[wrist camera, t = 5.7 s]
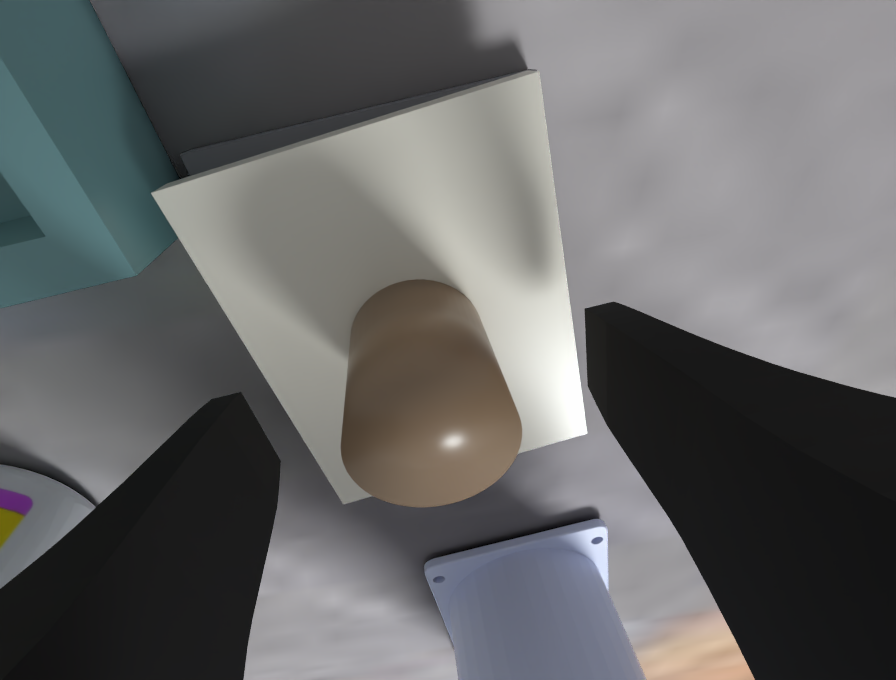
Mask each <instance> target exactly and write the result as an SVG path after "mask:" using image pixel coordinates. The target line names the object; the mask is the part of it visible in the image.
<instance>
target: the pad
mask: <svg viewBox="0 0 896 680" xmlns="http://www.w3.org/2000/svg"><path fill="white" fill-rule="evenodd" d="M528 70H530V71H537V70H533V69H528ZM524 71H526V70H524ZM520 72H523V71H519V72H515V73H511V74H507V75H503V76H498V77H494V78H490V79H486V80H482V81H477V82H473V83H469V84H465V85H461V86H456V87H452V88H448V89H444V90H440V91H435V92H431V93H427V94H423V95H419V96H414V97H410V98H406V99H402V100H398V101H393V102H389V103H385V104H381V105H377V106H372V107H368V108H364V109H360V110H356V111H351V112H347V113H343V114H339V115H335V116H330V117H326V118H322V119H318V120H314V121H309V122H305V123H301V124H297V125H293V126H288V127H284V128H280V129H276V130H272V131H267V132H263V133H259V134H255V135H250V136H246V137H242V138H238V139H234V140H229V141H225V142H221V143H217V144H213V145H208V146H204V147H200V148H196V149H192V150H188V151H186V152H184V153H182V154H180V157H181V159H182V161H183V163H184V165H185V167H186V169H187V171H188V173H189V175H190V176H192V175H195V174H198V173H201V172H205V171H208V170H211V169H214V168H217V167H221V166H224V165H227V164H230V163H233V162H236V161H240V160H243V159H246V158H249V157H252V156H256V155H259V154H262V153H265V152H268V151H272V150H275V149H278V148H281V147H284V146H287V145H291V144H294V143H297V142H300V141H303V140H307V139H310V138H313V137H316V136H319V135H323V134H326V133H329V132H332V131H335V130H338V129H342V128H345V127H348V126H351V125H354V124H358V123H361V122H364V121H367V120H370V119H374V118H377V117H380V116H383V115H386V114H389V113H393V112H396V111H399V110H402V109H405V108H409V107H412V106H415V105H418V104H421V103H425V102H428V101H431V100H434V99H437V98H440V97H444V96H447V95H450V94H453V93H456V92H460V91H463V90H466V89H469V88H472V87H476V86H479V85H482V84H485V83H488V82H491V81H495V80H498V79H501V78H504V77H507V76H511V75H514V74H517V73H520Z"/></svg>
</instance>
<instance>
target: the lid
mask: <svg viewBox="0 0 896 680" xmlns="http://www.w3.org/2000/svg"><path fill="white" fill-rule="evenodd" d="M151 194H152V196H153V197H154V199H155V201H156V202H157V204H158V205H159V207H160V209H161V210H162V212H163V214H164V215H165V217H166V218H167V220H168V222H169V223H170V225H171V227H172V228H173V230H174V231H175V233H176V235H177V236H178V238H179V239H180V241H181V243H182V244H183V246H184V248H185V249H186V251H187V252H188V254H189V256H190V257H191V259H192V260H193V262H194V264H195V265H196V267H197V269H198V270H199V272H200V273H201V275H202V277H203V278H204V280H205V282H206V283H207V285H208V286H209V288H210V290H211V291H212V293H213V294H214V296H215V298H216V299H217V301H218V303H219V304H220V306H221V307H222V309H223V311H224V312H225V314H226V315H227V317H228V319H229V320H230V322H231V324H232V325H233V327H234V328H235V330H236V332H237V333H238V335H239V337H240V338H241V340H242V341H243V343H244V345H245V346H246V348H247V349H248V351H249V353H250V354H251V356H252V358H253V359H254V361H255V362H256V364H257V366H258V367H259V369H260V370H261V372H262V374H263V375H264V377H265V379H266V380H267V382H268V383H269V385H270V387H271V388H272V390H273V392H274V393H275V395H276V396H277V398H278V400H279V401H280V403H281V404H282V406H283V408H284V409H285V411H286V413H287V414H288V416H289V417H290V419H291V421H292V422H293V424H294V425H295V427H296V429H297V430H298V432H299V434H300V435H301V437H302V438H303V440H304V442H305V443H306V445H307V447H308V448H309V450H310V451H311V453H312V455H313V456H314V458H315V459H316V461H317V463H318V464H319V466H320V468H321V469H322V471H323V472H324V474H325V476H326V477H327V479H328V481H329V482H330V484H331V485H332V487H333V489H334V490H335V492H336V493H337V495H338V497H339V498H340V500H341V502H342V503H343V505H344V504H347V503H351V502H354V501H358V500H361V499H365V498H368V497H371V496H374V497H376V498H378V499H381V500H383V501H386V502H389V503H392V504H396V505H401V506H409V507H435V506H442V505H447V504H451V503H455V502H458V501H461V500H464V499H467V498H469V497H472V496H474V495H476V494H478V493H480V492H481V491H483V490H485V489H486V488H488V487H489V486H491V485H492V484H494V483H495V482H496V481H497V480H498V479H499V478H501V477H502V476H503V474H504V473H505V472H506V471H507V470H508V469H509V467H510V466H511V465H512V463H513V462H514V460H515V458H516V456H517V454H519V453H522V452H526V451H529V450H533V449H536V448H539V447H543V446H546V445H550V444H553V443H557V442H560V441H563V440H567V439H570V438H574V437H577V436H581V435H584V434H587V428H586V421H585V413H584V405H583V398H582V390H581V383H580V375H579V368H578V360H577V353H576V345H575V337H574V330H573V322H572V315H571V307H570V300H569V292H568V285H567V277H566V269H565V262H564V254H563V247H562V239H561V232H560V224H559V217H558V209H557V201H556V194H555V186H554V179H553V171H552V164H551V156H550V149H549V141H548V133H547V126H546V118H545V111H544V103H543V96H542V88H541V80H540V73H539V71H530V70H526V71H523V72H520V73H517V74H514V75H511V76H507V77H504V78H501V79H498V80H495V81H491V82H488V83H485V84H482V85H479V86H476V87H472V88H469V89H466V90H463V91H460V92H456V93H453V94H450V95H447V96H444V97H440V98H437V99H434V100H431V101H428V102H425V103H421V104H418V105H415V106H412V107H409V108H405V109H402V110H399V111H396V112H393V113H389V114H386V115H383V116H380V117H377V118H374V119H370V120H367V121H364V122H361V123H358V124H354V125H351V126H348V127H345V128H342V129H338V130H335V131H332V132H329V133H326V134H323V135H319V136H316V137H313V138H310V139H307V140H303V141H300V142H297V143H294V144H291V145H287V146H284V147H281V148H278V149H275V150H272V151H268V152H265V153H262V154H259V155H256V156H252V157H249V158H246V159H243V160H240V161H236V162H233V163H230V164H227V165H224V166H221V167H217V168H214V169H211V170H208V171H205V172H201V173H198V174H195V175H192V176H189V177H186V178H182V179H179V180H176V181H173V182H170V183H167V184H165V185H163V186H162V187H160V188H158V189H157V190H155V191H153V192H152V193H151Z"/></svg>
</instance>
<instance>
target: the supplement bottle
mask: <svg viewBox="0 0 896 680" xmlns="http://www.w3.org/2000/svg"><path fill="white" fill-rule="evenodd" d="M95 508H96V507H95V506H94V505H93V504H92V503H91V502H89V501H88V500H87V499H86V498H85V497H83V496H82V495H80V494H79V493H77V492H76V491H74V490H73V489H71V488H69V487H68V486H66V485H64V484H62V483H60V482H58V481H56V480H54V479H51V478H49V477H47V476H44V475H41V474H38V473H36V472H32V471H29V470H25V469H21V468H17V467H12V466H8V465H1V464H0V589H1V588H2V587H3V586H4V585H6V584H7V583H8V582H9V581H10V580H12V579H13V578H14V577H15V576H17V575H18V574H19V573H20V572H22V571H23V570H24V569H25V568H27V567H28V566H29V565H30V564H32V563H33V562H34V561H35V560H37V559H38V558H39V557H40V556H41V555H43V554H44V553H45V552H46V551H47V550H48V549H50V548H51V547H52V546H53V545H54V544H56V543H57V542H58V541H59V540H60V539H61V538H63V537H64V536H65V535H66V534H67V533H68V532H69V531H71V530H72V529H73V528H74V527H75V526H76V525H77V524H78V523H79V522H81V521H82V520H83V519H84V518H85V517H86V516H87V515H88V514H89V513H90V512H92V511H93V510H94V509H95Z"/></svg>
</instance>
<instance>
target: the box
mask: <svg viewBox="0 0 896 680" xmlns="http://www.w3.org/2000/svg"><path fill="white" fill-rule="evenodd" d="M176 180H179V177H178V175H177V173H176V171H175V169H174V167H173V165H172V163H171V161H170V159H169V157H168V155H167V153H166V151H165V149H164V147H163V145H162V143H161V141H160V139H159V137H158V135H157V133H156V131H155V129H154V127H153V125H152V123H151V121H150V119H149V117H148V115H147V113H146V111H145V109H144V108H143V106H142V104H141V102H140V100H139V98H138V96H137V94H136V92H135V90H134V88H133V86H132V84H131V82H130V80H129V78H128V76H127V74H126V72H125V70H124V68H123V66H122V64H121V62H120V60H119V58H118V56H117V54H116V52H115V50H114V48H113V46H112V44H111V42H110V40H109V38H108V36H107V34H106V32H105V30H104V28H103V26H102V24H101V22H100V20H99V18H98V16H97V14H96V12H95V10H94V8H93V6H92V5H91V3H90V1H89V0H0V308H4V307H8V306H12V305H17V304H21V303H25V302H29V301H33V300H37V299H42V298H46V297H50V296H54V295H58V294H62V293H67V292H71V291H75V290H79V289H83V288H87V287H92V286H96V285H100V284H104V283H108V282H112V281H117V280H121V279H125V278H129V277H133V276H137V275H138V274H139V273H140V272H141V271H142V270H143V269H145V268H146V267H147V266H148V265H149V264H150V263H151V262H152V261H153V260H154V259H156V258H157V257H158V256H159V255H160V254H161V253H162V252H163V251H164V250H166V249H167V248H168V247H169V246H170V245H171V244H172V243H173V242H174V241H175V240H177V239H178V236H177V235H176V233H175V231H174V230H173V228H172V227H171V225H170V223H169V222H168V220H167V218H166V217H165V215H164V214H163V212H162V210H161V209H160V207H159V205H158V204H157V202H156V201H155V199H154V197H153V196H152V194H151V193H152V192H153V191H155V190H157V189H158V188H160V187H162V186H163V185H165V184H167V183H170V182H173V181H176Z"/></svg>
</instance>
